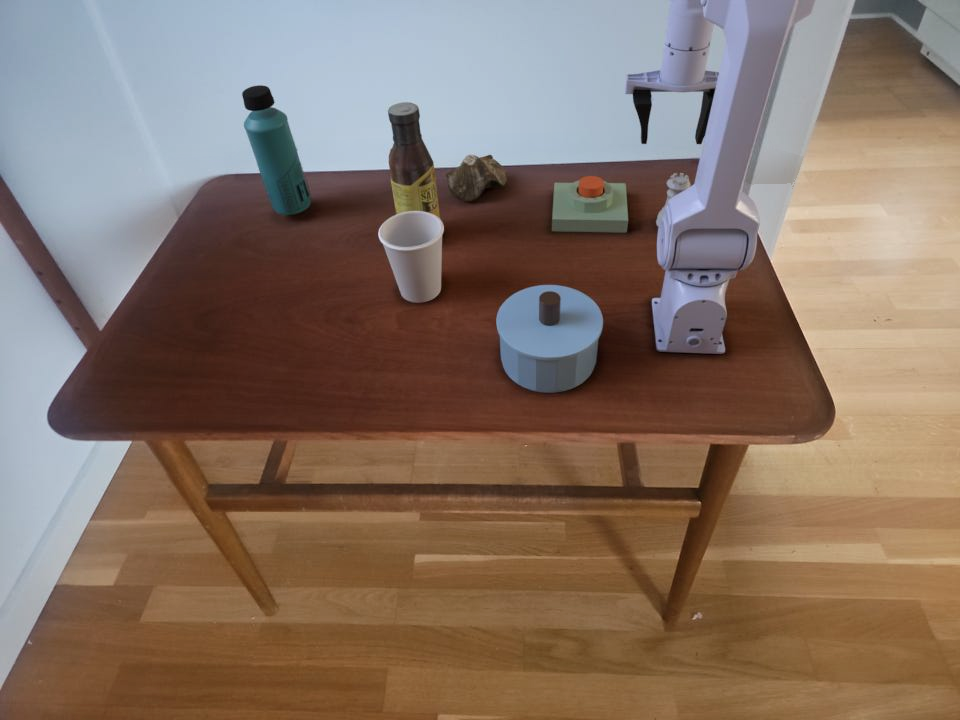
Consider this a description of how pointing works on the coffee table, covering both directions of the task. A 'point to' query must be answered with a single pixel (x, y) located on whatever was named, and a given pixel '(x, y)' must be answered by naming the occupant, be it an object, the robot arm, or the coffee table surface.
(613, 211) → the switch block
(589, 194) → the button
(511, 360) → the tin
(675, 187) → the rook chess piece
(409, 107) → the sauce bottle
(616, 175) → the coffee table surface
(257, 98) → the beverage bottle
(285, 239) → the coffee table surface
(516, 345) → the tin lid
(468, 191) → the fossilized seashell
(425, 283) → the dixie cup
